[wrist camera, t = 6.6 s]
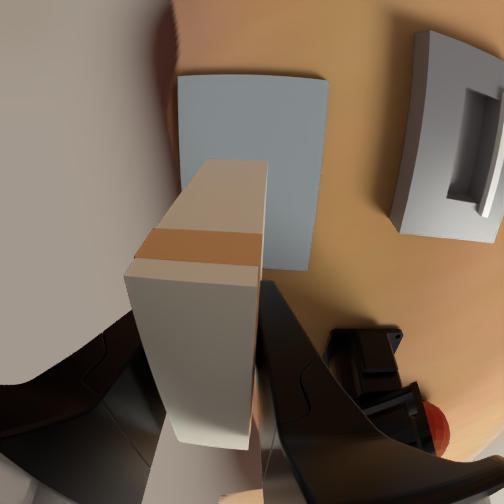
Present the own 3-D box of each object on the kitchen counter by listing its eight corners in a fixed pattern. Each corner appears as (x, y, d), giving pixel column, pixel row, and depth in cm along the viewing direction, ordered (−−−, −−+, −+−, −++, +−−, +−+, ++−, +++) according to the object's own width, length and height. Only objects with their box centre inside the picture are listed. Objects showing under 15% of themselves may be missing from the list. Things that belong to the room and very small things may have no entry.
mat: (306, 265, 21) (307, 271, 20) (189, 258, 21) (187, 263, 21) (327, 80, 15) (329, 80, 14) (180, 76, 15) (177, 76, 14)
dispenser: (479, 229, 18) (496, 246, 16) (389, 218, 19) (402, 237, 17) (511, 72, 12) (534, 76, 10) (414, 33, 12) (434, 29, 10)
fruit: (361, 407, 31) (372, 485, 22) (439, 379, 28) (462, 455, 20) (376, 434, 35) (384, 497, 27) (440, 411, 32) (456, 473, 24)
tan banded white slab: (260, 304, 13) (248, 450, 8) (212, 300, 13) (178, 441, 8) (268, 160, 10) (258, 285, 4) (206, 158, 10) (121, 274, 4)
